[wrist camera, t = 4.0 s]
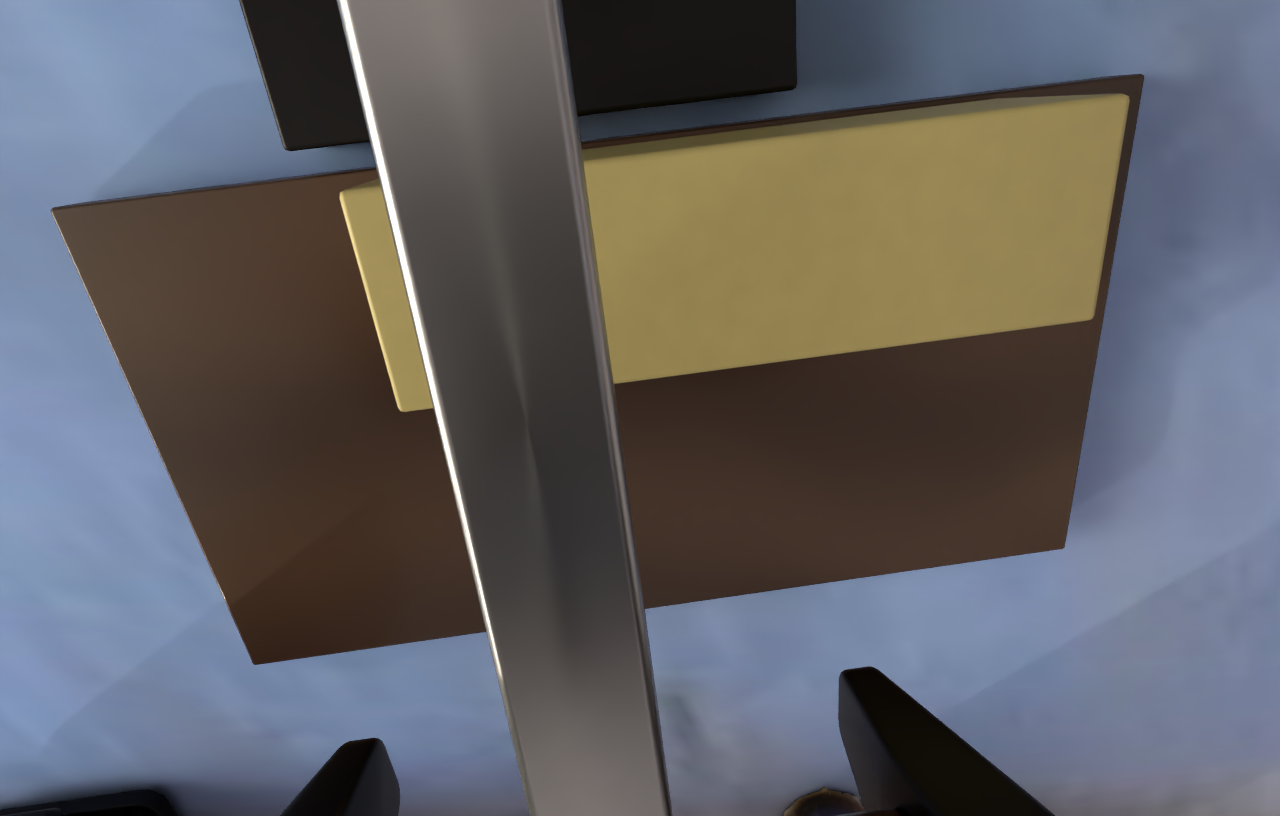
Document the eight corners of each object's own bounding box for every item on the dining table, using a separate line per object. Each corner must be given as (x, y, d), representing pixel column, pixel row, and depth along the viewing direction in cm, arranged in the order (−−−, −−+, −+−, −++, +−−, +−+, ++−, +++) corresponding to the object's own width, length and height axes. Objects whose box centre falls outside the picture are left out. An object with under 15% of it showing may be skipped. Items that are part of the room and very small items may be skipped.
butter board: (1043, 529, 16) (1065, 549, 15) (268, 639, 15) (253, 666, 15) (1112, 76, 12) (1146, 73, 11) (80, 202, 12) (47, 208, 11)
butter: (982, 276, 12) (1096, 322, 10) (438, 347, 12) (397, 415, 9) (999, 97, 11) (1134, 92, 9) (396, 172, 11) (334, 190, 8)
